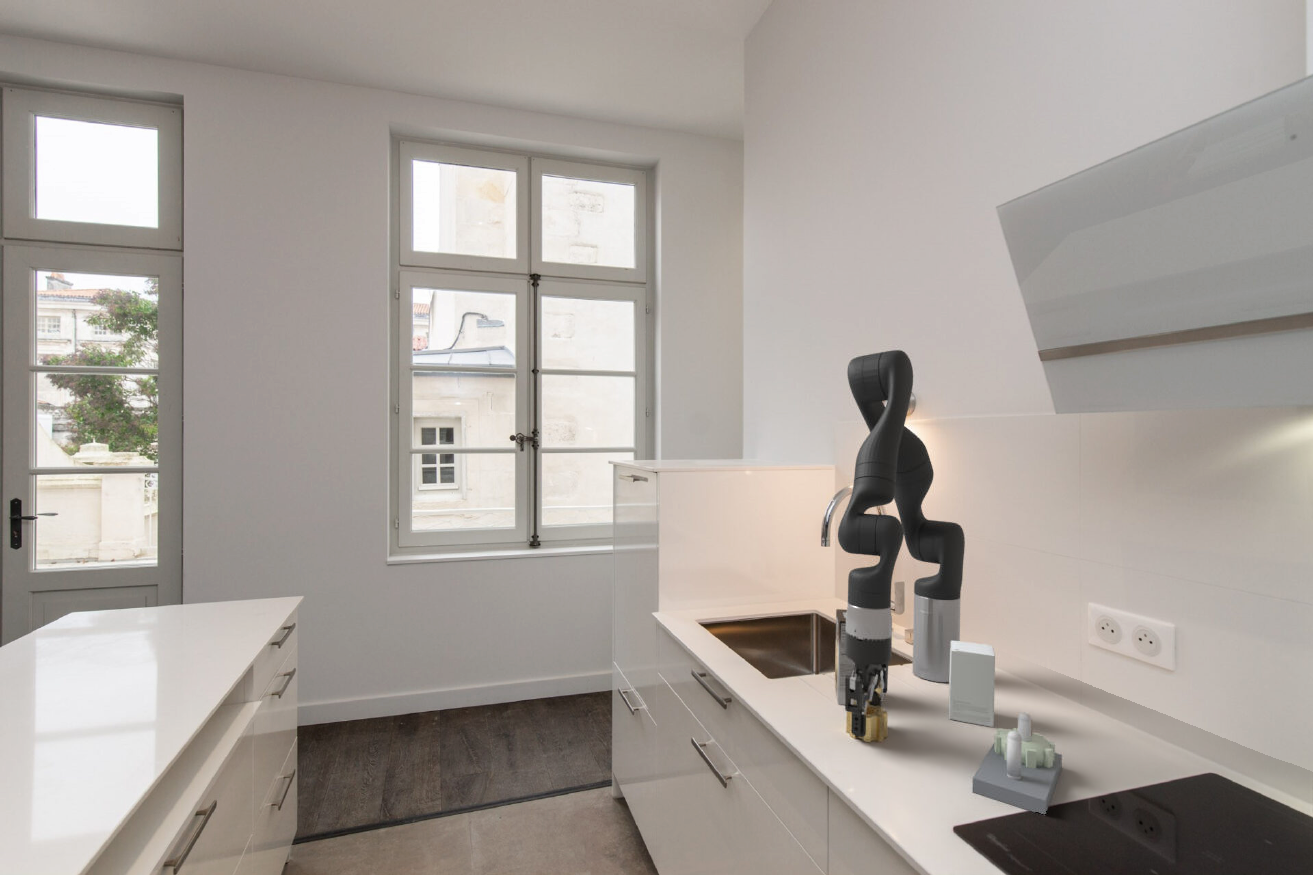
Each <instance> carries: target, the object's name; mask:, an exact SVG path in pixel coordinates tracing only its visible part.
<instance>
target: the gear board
mask: <svg viewBox="0 0 1313 875" xmlns="http://www.w3.org/2000/svg"><path fill="white" fill-rule="evenodd" d="M996 731H997V732H996V733H994V742H993V743H992V744H991V747H990V748H989V750H988V752H987V753H986V755H985V757H984V759H983V760H982V761H981V763H980V765H979V767H978V768H977V770H976V772H975V773H974V775H973V777H972V788H971V790H972V791H971V792H972V793H974V794H977V795H980V796H984V797H986V798H989V799H993V800H994V801H995V800H996V801H998V802H1001V803H1005V804H1008V805H1011V806H1014V807H1017V808H1021V809H1024V810H1027V811H1030V812H1031V813H1032V812H1033V813H1035V812H1039V813H1041V814H1046V815H1047V812H1048V809H1049V806H1050V803H1051V800H1052V798H1053V794H1054V791H1055V788H1056V785H1057V783H1058V779H1059V776H1060V774H1061V771H1062V766H1063V754H1060V753H1058V752H1056V744H1055V743H1054V741H1052V740H1047V739H1046V738H1045V737H1044V735H1042V734H1040V733H1038V732H1033V719H1032V717H1031V716H1030V714H1028V713H1026V712H1021V713H1019V714H1018V716H1017V727H1013V728H1012V729H1005V728H998V729H997V730H996ZM1046 811H1047V812H1046ZM1041 814H1040V815H1041Z"/></svg>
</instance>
